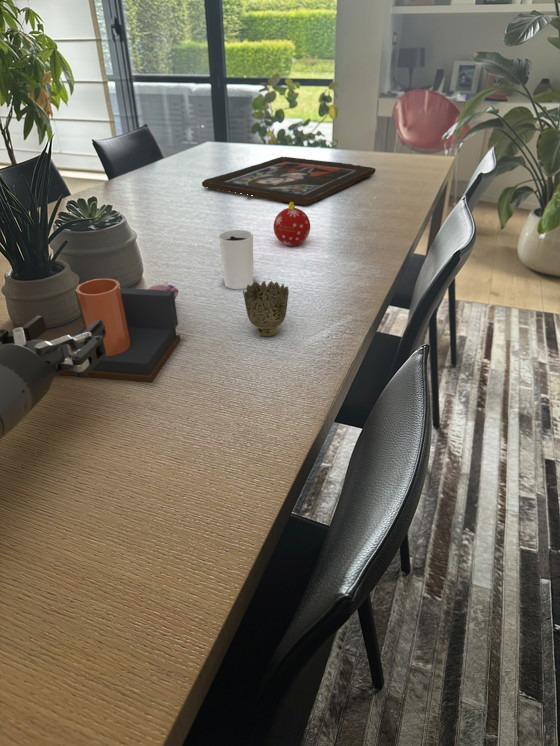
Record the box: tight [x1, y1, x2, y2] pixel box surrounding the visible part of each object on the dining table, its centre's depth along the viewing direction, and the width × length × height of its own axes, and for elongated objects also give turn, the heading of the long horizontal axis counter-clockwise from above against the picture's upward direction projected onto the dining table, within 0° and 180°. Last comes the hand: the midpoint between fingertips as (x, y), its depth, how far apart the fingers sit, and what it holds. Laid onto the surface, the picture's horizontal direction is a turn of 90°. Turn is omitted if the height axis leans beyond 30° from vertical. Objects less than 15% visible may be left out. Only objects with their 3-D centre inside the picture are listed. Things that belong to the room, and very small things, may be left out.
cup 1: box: [75, 278, 131, 356], centre depth 82 cm, size 6×6×10 cm
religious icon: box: [201, 156, 377, 206], centre depth 179 cm, size 40×45×3 cm
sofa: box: [57, 287, 181, 383], centre depth 86 cm, size 16×13×9 cm
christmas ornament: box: [273, 202, 311, 247], centre depth 128 cm, size 9×9×10 cm
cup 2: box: [242, 280, 290, 337], centre depth 91 cm, size 8×7×8 cm
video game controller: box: [148, 281, 179, 299], centre depth 99 cm, size 10×5×7 cm, turn 147°
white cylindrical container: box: [218, 229, 254, 290], centre depth 109 cm, size 7×7×10 cm
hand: (71, 324), depth 73 cm, fingers open, 8 cm apart
